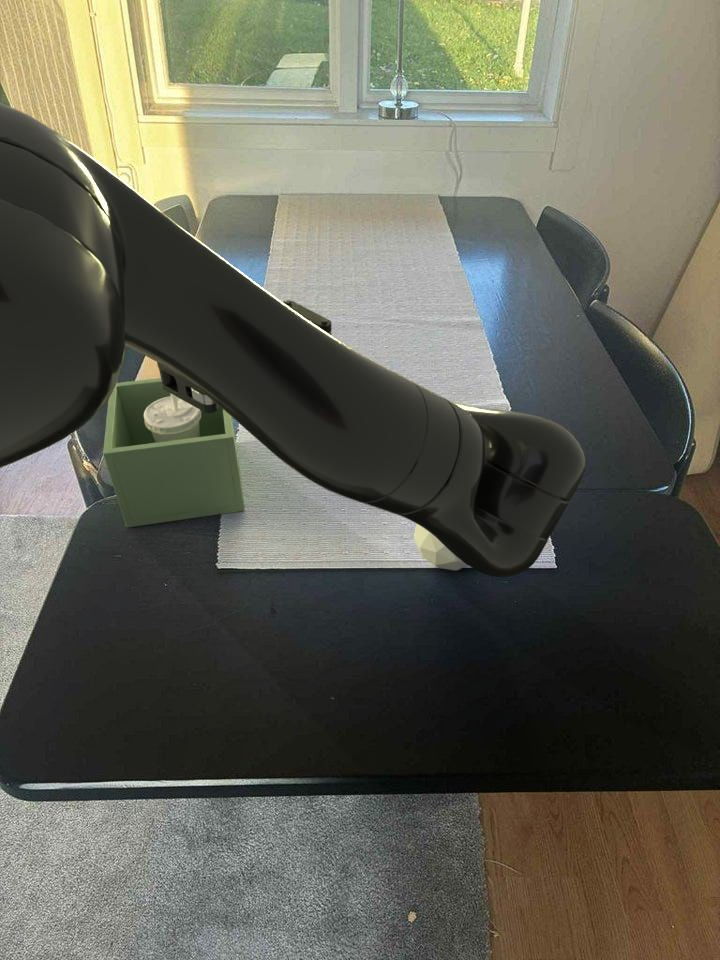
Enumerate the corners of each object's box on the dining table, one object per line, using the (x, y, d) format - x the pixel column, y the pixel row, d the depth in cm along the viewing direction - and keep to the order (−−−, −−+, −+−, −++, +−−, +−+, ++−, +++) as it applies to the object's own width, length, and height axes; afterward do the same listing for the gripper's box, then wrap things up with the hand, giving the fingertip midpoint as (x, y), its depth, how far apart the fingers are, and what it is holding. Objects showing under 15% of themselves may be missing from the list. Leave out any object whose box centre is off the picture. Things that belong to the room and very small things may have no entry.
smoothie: (215, 487, 84) (197, 389, 75) (161, 497, 83) (135, 399, 74) (208, 454, 89) (191, 359, 80) (157, 463, 88) (133, 368, 78)
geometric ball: (463, 581, 78) (498, 571, 71) (397, 564, 76) (426, 553, 69) (471, 516, 80) (506, 500, 73) (407, 498, 78) (437, 480, 71)
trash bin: (126, 528, 81) (102, 453, 73) (130, 455, 91) (110, 383, 83) (244, 510, 83) (233, 437, 75) (235, 441, 93) (225, 370, 85)
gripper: (389, 316, 55) (252, 256, 63) (249, 391, 47) (114, 312, 55) (386, 396, 59) (260, 331, 68) (259, 476, 52) (134, 391, 60)
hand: (195, 322), depth 61 cm, fingers open, 8 cm apart
